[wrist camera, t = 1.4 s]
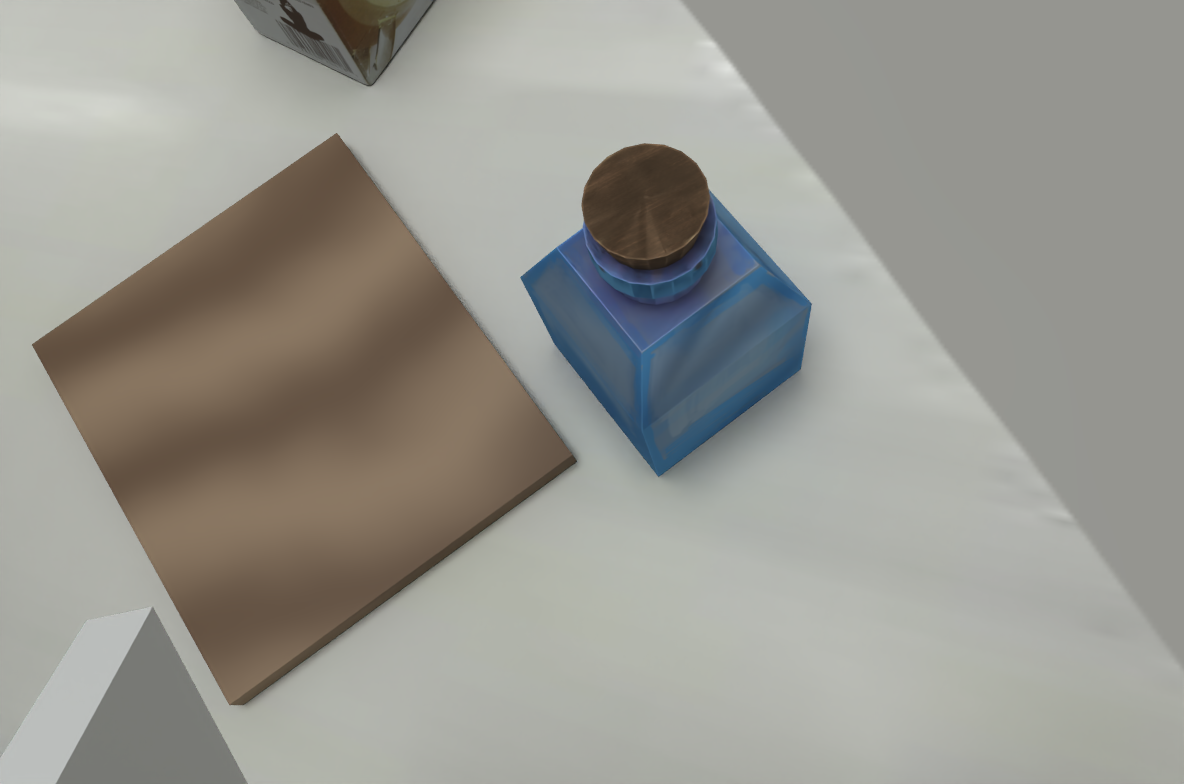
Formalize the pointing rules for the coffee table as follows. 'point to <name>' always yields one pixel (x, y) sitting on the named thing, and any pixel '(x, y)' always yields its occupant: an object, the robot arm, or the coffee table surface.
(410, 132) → the coffee table surface
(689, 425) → the perfume bottle
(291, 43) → the coffee box
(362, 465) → the walnut board
